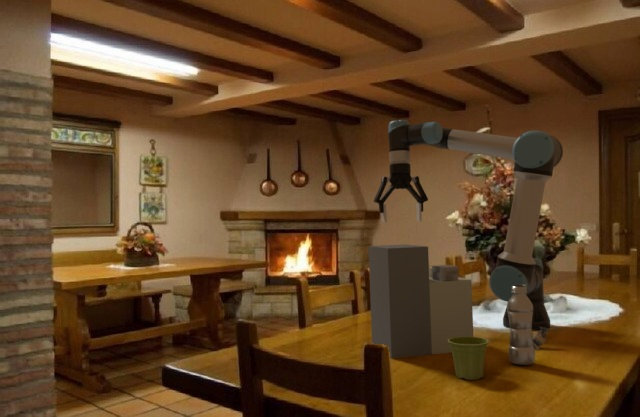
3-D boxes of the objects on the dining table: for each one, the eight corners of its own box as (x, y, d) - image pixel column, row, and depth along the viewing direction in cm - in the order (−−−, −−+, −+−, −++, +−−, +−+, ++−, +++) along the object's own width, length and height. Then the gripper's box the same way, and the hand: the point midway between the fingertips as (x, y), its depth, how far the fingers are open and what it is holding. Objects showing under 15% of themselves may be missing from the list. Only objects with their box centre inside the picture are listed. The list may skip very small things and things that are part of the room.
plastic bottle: (535, 361, 142) (532, 284, 142) (536, 368, 135) (533, 287, 136) (508, 360, 144) (505, 284, 144) (508, 367, 137) (505, 287, 138)
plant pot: (443, 372, 135) (442, 337, 135) (481, 370, 135) (479, 335, 136) (456, 383, 125) (455, 345, 125) (496, 381, 126) (494, 343, 126)
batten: (403, 272, 181) (402, 260, 181) (417, 271, 182) (416, 259, 182) (442, 281, 154) (441, 267, 154) (458, 280, 155) (457, 266, 155)
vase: (541, 344, 160) (542, 324, 159) (553, 350, 154) (554, 329, 154) (525, 346, 158) (525, 325, 158) (537, 351, 153) (538, 330, 153)
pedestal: (371, 345, 165) (368, 246, 165) (447, 338, 171) (444, 242, 172) (391, 358, 149) (387, 248, 150) (473, 350, 155) (470, 244, 156)
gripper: (426, 164, 206) (428, 220, 206) (364, 164, 200) (365, 222, 200) (435, 162, 199) (437, 220, 198) (370, 162, 193) (372, 222, 192)
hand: (401, 221), depth 199 cm, fingers open, 13 cm apart
